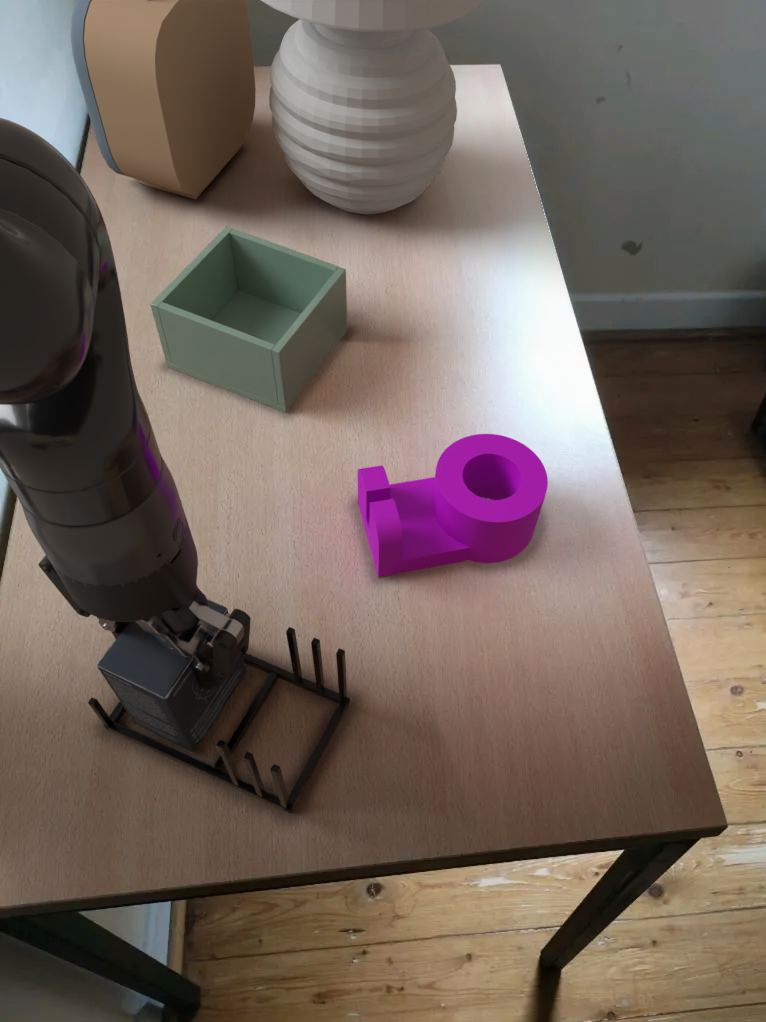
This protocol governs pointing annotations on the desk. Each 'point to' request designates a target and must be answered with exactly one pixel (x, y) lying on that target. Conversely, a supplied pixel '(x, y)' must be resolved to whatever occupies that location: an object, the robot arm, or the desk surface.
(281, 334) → the green storage bin
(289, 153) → the table lamp
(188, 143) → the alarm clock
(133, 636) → the box
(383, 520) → the magenta mechanical bracket
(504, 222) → the desk surface
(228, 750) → the rack
